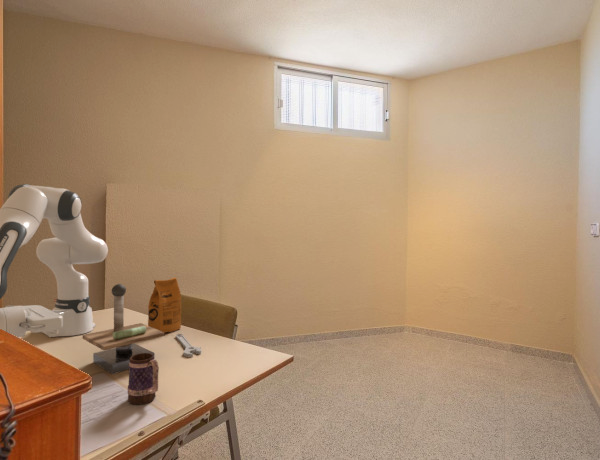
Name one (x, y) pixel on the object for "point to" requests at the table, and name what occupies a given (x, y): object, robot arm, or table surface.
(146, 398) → the mug
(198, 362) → the table surface
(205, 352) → the table surface
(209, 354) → the table surface
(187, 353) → the adjustable wrench
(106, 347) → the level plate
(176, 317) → the coffee package
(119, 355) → the stand
